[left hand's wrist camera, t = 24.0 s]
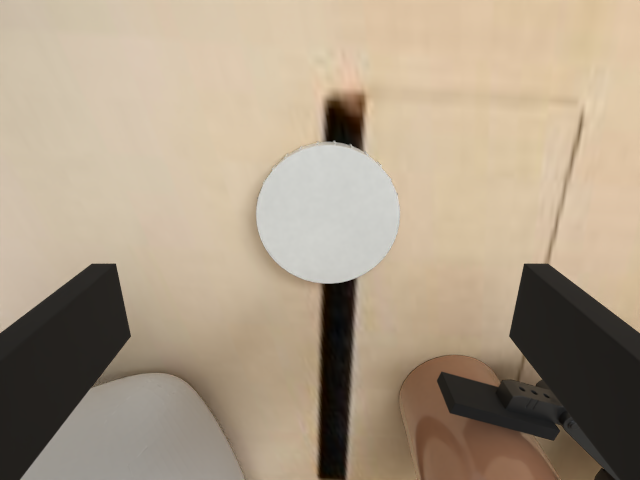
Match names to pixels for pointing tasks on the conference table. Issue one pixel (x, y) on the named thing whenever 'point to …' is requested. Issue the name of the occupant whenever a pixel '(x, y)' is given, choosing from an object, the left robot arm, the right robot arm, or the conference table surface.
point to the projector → (138, 436)
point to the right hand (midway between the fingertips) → (414, 451)
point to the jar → (463, 431)
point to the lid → (327, 212)
